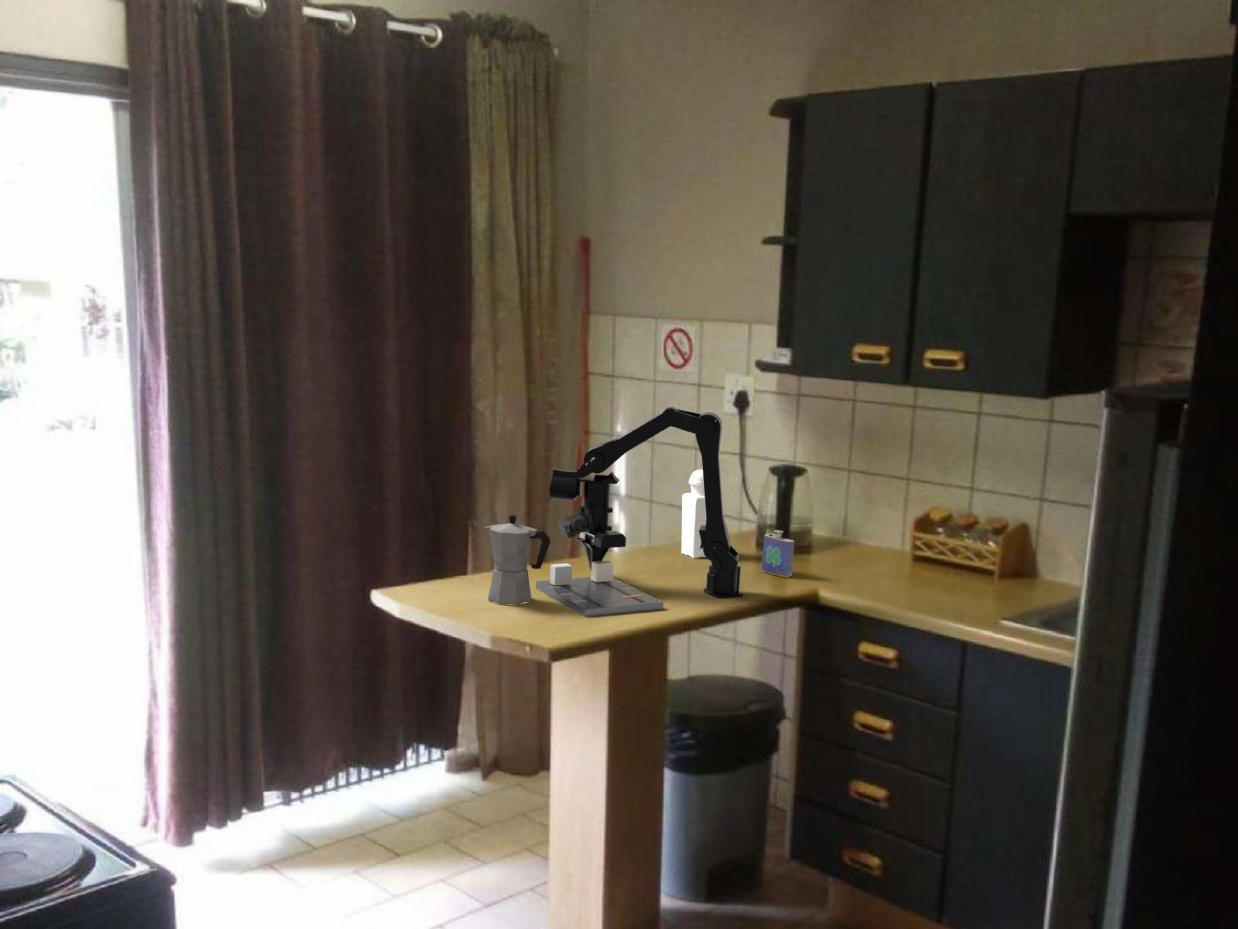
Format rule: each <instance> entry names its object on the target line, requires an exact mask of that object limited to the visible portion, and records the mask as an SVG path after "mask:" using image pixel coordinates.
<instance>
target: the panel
mask: <svg viewBox="0 0 1238 929" xmlns="http://www.w3.org/2000/svg"><path fill="white" fill-rule="evenodd" d="M535 589H536V590H538V589H539V590H538V591H540V592H542V593H543V592H544V594H545V595H547V596H548V597H550V596H551V597H550V598H552V599H554V600H555V599H556V601H557V602H559V603H561V604H562V605H564V606H566V607H567V606H568V608H569V609H571V610H573V611H575V612H576V613H578V614H579V615H581V616H583V617H587V616H588V617H596V616H597V617H598V616H606V615H608V616H609V615H617V614H618V613H620V614H628V613H639V612H648V611H658V610H661V611H662V610H663V609H664V601H662V600H661V599H657V598H655V597H654V596H652V595H650V594H647V593H646V592H644V591H641V590H640V589H638V588H635V587H633V586H631V585H629V584H627V583H625V582H623V581H622V580H619V579H617V578H615V577H613V578H612V581H604V582H595V581H593V580H591V576H589V577H588V576H587V577H574V578H573V577H572V584H567V585H553V584H551V583H550V579H547V580H537V581H535ZM588 617H587V618H588Z"/></svg>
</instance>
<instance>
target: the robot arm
mask: <svg viewBox="0 0 1238 929" xmlns="http://www.w3.org/2000/svg"><path fill="white" fill-rule="evenodd" d="M671 427H672V428H676V429H678V430H681V431H685V432H687V433H691V434H694V435H695V438H696V443H697V447H698V449H699V453H700V456H701V465H702V466H701V467H702V470H703V480H704V494H705V507H706V526H703V525H701V526H700V529H699V534H700V538H701V546H700V549H702V548H703V552H704V555H705V556H706V558H707V559H708V560H709V561H710V563H711V564H709V566H708V567H709V568H708V572H707V575H706V587H705V588H703V591H704V592H706V593H707V594H710V595H712V596H714V597H717V598H729V597H730V598H732V597H740V596H741V597H742V596H744V592H742V591H740V584H741V583H740V582H741V566H739V565H738V564H739V560H740V553H739V552H738V551H737V550H736V549H735V548H734V546H733V545H732V542H731V538H730V534H729V531H728V527H727V522H726V520H725V517H724V506H723V504H724V503H723V492H722V481H721V480H722V478H721V466H720V465H721V463H720V448H721V442H722V441H721V440H722V431H723V421H722V419H721V416H719V415H717V414H716V413H715V412H711V411H707V412H704V413H697V412H694V411H689V410H685V409H684V410H683V409H679V408H676V407H674V406H668V407H666V408H665V409H663V410H662V411H661V412H660V413H658V414H656V415H654V416H652V417H651V418H649V419H648V420H646V421H644V422H643V423H641V424H639V425H638V426H635V427H634V428H633V429H631V430H630V431H628V432H626V433H624V434H622V435H621V436H617V437H616V438H614V439H610V440H607V441H604V442H601V443H600V444H596V445H594V446H593V447H591V448H590V449H588V450H587V451H586V452H585V454H584V457H583V463H582V465H581V466H579V467H578V468H577V470H571V469H570V470H568V469H567V470H566V469H563V468H562V469H561V468H554V469H553V470H552V475H551V480H550V484H549V493H548V494H549V498H550V499H551V500H556V501H557V500H558V501H560V500H561V501H570V502H571V501H573V502H576V501H577V499H578V497H582V495H583V504H582V505H579V507H578V512H577V513H575V514H574V513H573V514H571V515H568V516H567V517H564V518H561V519H559V520H558V521H557V524H558V528H559V530H560V535H561V536H564V537H566V538H567V539H571V538H575V536H578V535H579V537H577V538H576V541H577V542H579V543H580V544H581V545H582V546H583V548H584V550H585V554H586V556H587V561H588V564H589V569H590V571H591V569H592V562H595V561H604V560H603V559H604V558H605V556H606V555H607V553H608V551H609V549H612V548H613V549H614V548H625V547H627V537H626V535H624V534H623V533H622V532H619V531H617V530H613V526H612V525H610V524H609V523H610V521H609V520H610V519H609V518H610V513H614V510H613V509H614V508H613V507H611V506H610V500H611V498H610V497H611V485H617V484H618V483H619V482H620V478H618V476H616V475H615V473H614V471H611V472H609V474H602V473H604V472H605V471H606V470H608V468H610V467H611V466H612V465H613V464H614V463H616V462H617V461H618V460H620V459H621V457H622V456H624V455H625V454H626V453H627V452H629V451H630V450H633V449H634V448H636V447H638V446H640V445H641V444H642V443H644V442H646V441H647V440H649V439H651V438H653V437H655V436H656V435H658V434H660V433H661V432H664V431H665V430H667V429H669V428H671ZM592 473H593V474H594V477H588V476H589V475H590V474H592ZM583 486H584V487H583ZM583 489H584V490H583Z"/></svg>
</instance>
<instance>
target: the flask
mask: <svg viewBox="0 0 1238 929" xmlns="http://www.w3.org/2000/svg"><path fill="white" fill-rule="evenodd" d="M774 532H775V533H768V534H767V533H766V534H764V535H763V536H764V538H763V549H762V551H763V552H762V558H761V560H762V562H761V570H764V571H766V572H771V573H774V574H778V575H784V576H789V577H790V576H792V577H793V563H794V549H795V540H793V539H788V538H785V537H782V536H783V533H784V531H783V530H778V529H776V530H774Z"/></svg>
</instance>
